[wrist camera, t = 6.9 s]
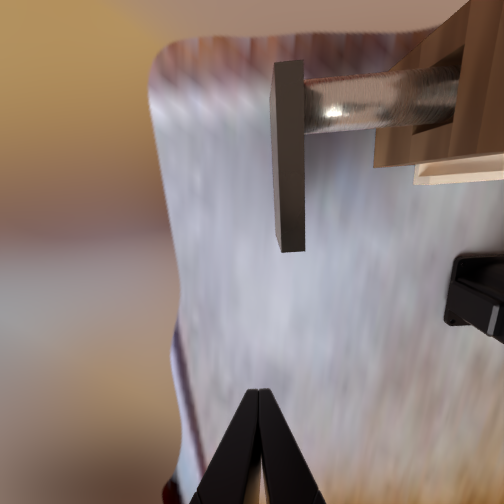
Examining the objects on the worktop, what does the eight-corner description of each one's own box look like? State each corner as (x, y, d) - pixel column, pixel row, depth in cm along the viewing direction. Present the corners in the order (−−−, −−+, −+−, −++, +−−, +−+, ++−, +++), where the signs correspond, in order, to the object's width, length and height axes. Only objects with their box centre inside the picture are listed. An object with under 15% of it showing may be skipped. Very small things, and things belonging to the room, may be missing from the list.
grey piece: (420, 85, 13) (494, 40, 9) (405, 226, 16) (458, 241, 11) (269, 99, 14) (274, 62, 10) (275, 234, 16) (281, 252, 12)
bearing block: (422, 74, 16) (603, -46, 8) (412, 164, 18) (552, 147, 10) (379, 78, 17) (510, -36, 8) (373, 167, 18) (475, 153, 10)
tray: (580, 34, 16) (620, 15, 14) (543, 175, 18) (573, 174, 16) (428, 49, 16) (449, 32, 14) (413, 184, 19) (428, 184, 17)
